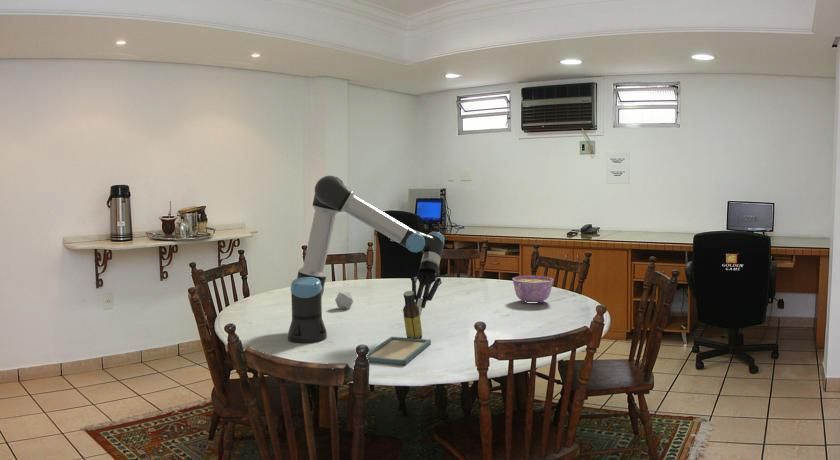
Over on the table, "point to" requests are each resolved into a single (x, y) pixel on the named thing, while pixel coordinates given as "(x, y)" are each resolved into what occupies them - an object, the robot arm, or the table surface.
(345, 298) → the die
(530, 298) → the bowl of food
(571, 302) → the table surface
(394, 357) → the teal tray
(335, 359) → the table surface
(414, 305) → the sauce bottle
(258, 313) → the table surface
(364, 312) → the table surface
